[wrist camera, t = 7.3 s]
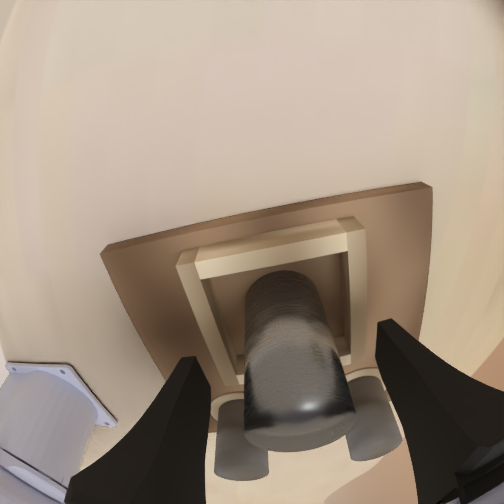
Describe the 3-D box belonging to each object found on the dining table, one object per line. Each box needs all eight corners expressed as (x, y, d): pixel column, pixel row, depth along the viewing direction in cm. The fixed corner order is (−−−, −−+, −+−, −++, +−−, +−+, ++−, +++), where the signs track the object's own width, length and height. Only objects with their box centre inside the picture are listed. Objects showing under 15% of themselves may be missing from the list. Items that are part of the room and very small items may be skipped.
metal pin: (253, 335, 15) (257, 457, 9) (236, 279, 14) (229, 409, 7) (321, 322, 15) (354, 439, 9) (314, 263, 13) (359, 386, 7)
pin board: (202, 422, 21) (195, 487, 16) (107, 245, 14) (48, 316, 9) (400, 387, 20) (425, 447, 14) (422, 181, 13) (502, 228, 7)
